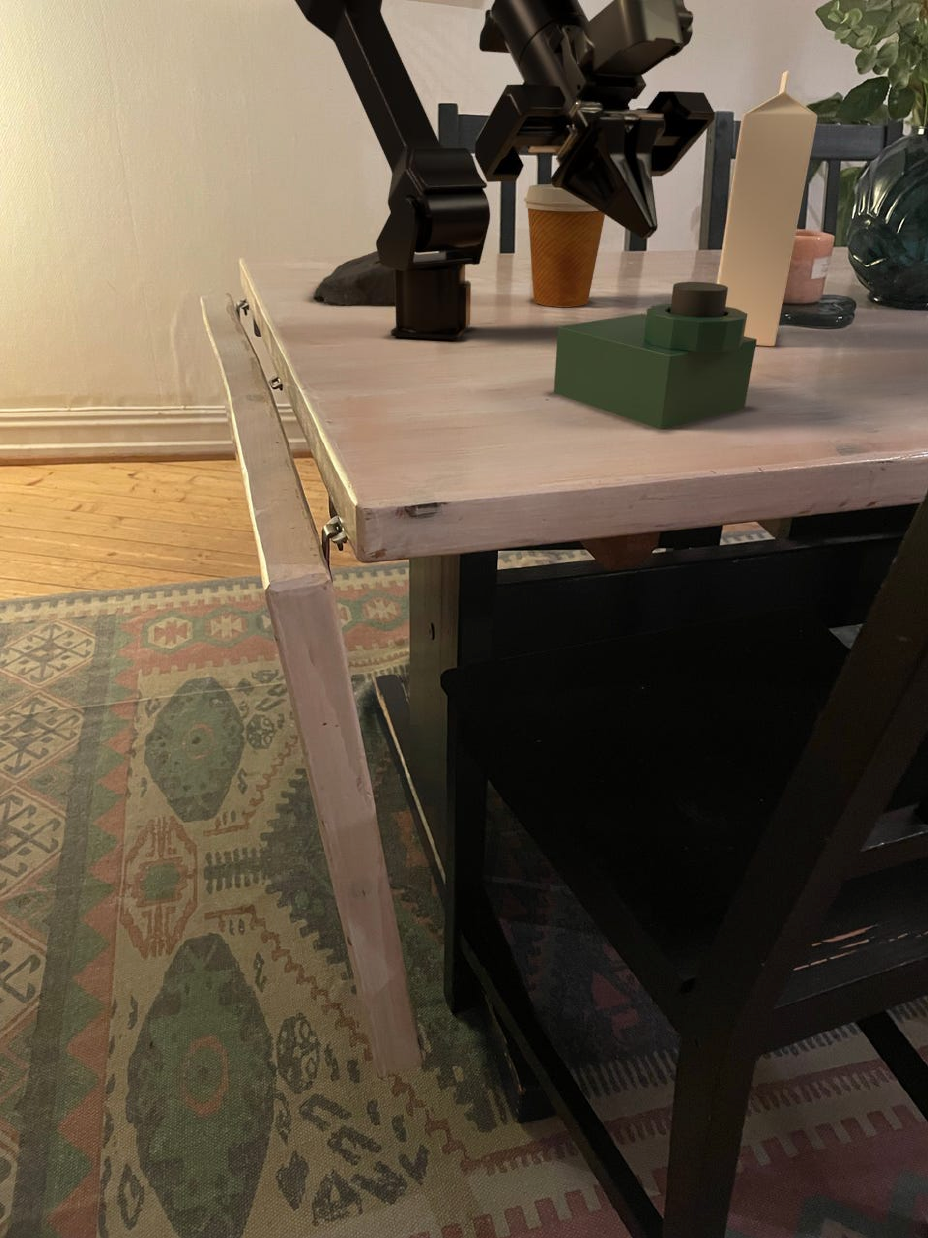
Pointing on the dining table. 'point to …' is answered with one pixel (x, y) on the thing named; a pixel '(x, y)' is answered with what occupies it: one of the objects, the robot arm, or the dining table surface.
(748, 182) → the milk
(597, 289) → the dining table surface
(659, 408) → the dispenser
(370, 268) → the dark slate chunk
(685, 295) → the button
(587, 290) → the disposable coffee cup
